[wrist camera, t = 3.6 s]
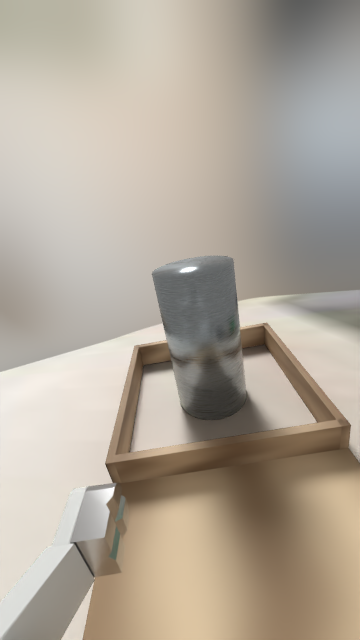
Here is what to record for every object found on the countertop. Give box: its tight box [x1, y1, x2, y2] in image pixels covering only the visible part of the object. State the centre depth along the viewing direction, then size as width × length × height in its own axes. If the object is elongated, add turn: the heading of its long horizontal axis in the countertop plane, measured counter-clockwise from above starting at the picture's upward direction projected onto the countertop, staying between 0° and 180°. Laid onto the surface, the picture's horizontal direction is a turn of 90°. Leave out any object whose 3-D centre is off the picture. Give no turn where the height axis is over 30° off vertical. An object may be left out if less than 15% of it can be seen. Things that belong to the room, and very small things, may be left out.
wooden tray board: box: [83, 323, 360, 640], centre depth 16 cm, size 14×28×2 cm, turn 2°
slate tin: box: [152, 256, 246, 420], centre depth 20 cm, size 6×6×11 cm
